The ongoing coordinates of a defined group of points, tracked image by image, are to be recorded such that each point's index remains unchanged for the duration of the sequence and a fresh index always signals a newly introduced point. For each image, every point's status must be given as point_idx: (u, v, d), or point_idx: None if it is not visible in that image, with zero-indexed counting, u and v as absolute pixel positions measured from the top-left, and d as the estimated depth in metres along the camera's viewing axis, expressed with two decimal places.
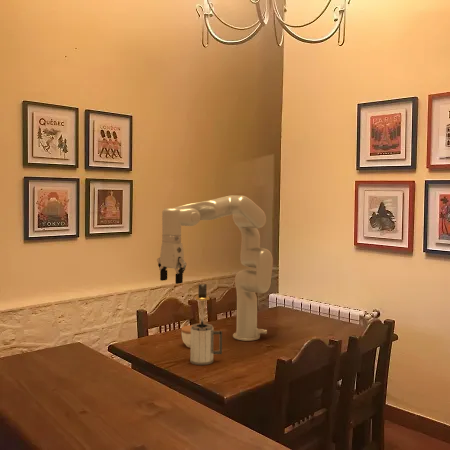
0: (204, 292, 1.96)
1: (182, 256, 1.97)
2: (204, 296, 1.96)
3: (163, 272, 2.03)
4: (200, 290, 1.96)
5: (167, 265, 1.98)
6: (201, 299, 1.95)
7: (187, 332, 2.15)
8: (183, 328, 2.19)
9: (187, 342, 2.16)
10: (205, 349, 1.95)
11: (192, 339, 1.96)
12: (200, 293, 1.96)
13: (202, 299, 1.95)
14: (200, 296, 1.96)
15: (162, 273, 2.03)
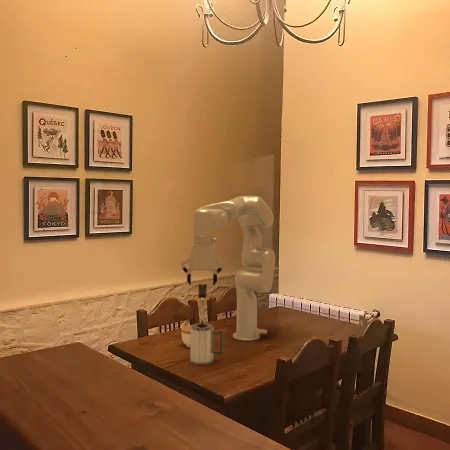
0: (204, 292, 1.96)
1: None
2: (204, 296, 1.96)
3: (190, 276, 1.96)
4: (200, 290, 1.96)
5: (202, 267, 1.95)
6: (201, 299, 1.95)
7: (187, 332, 2.15)
8: (183, 328, 2.19)
9: (187, 342, 2.16)
10: (205, 349, 1.95)
11: (192, 339, 1.96)
12: (200, 293, 1.96)
13: (202, 299, 1.95)
14: (200, 296, 1.96)
15: (190, 277, 1.95)
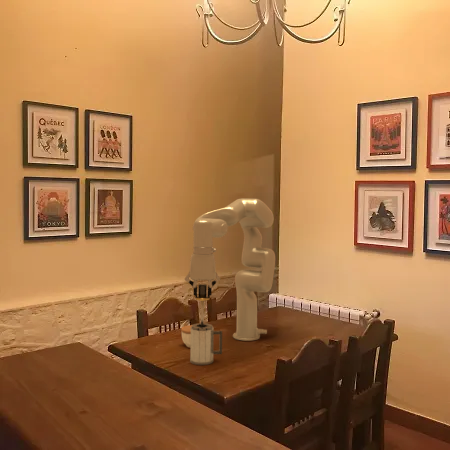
0: (204, 292, 1.96)
1: None
2: (204, 296, 1.96)
3: None
4: (200, 290, 1.96)
5: (203, 278, 1.95)
6: (201, 299, 1.95)
7: (187, 332, 2.15)
8: (183, 328, 2.19)
9: (187, 342, 2.16)
10: (205, 349, 1.95)
11: (192, 339, 1.96)
12: (200, 293, 1.96)
13: (202, 299, 1.95)
14: (200, 296, 1.96)
15: None
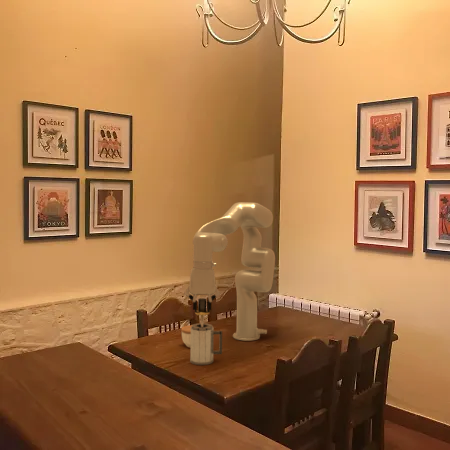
0: (204, 307, 1.97)
1: None
2: (204, 311, 1.97)
3: (196, 303, 1.97)
4: (200, 305, 1.96)
5: (202, 292, 1.95)
6: (201, 314, 1.95)
7: (187, 332, 2.15)
8: (183, 328, 2.19)
9: (187, 342, 2.16)
10: (205, 349, 1.95)
11: (192, 339, 1.96)
12: (200, 308, 1.97)
13: (202, 314, 1.95)
14: (200, 311, 1.97)
15: (196, 304, 1.96)
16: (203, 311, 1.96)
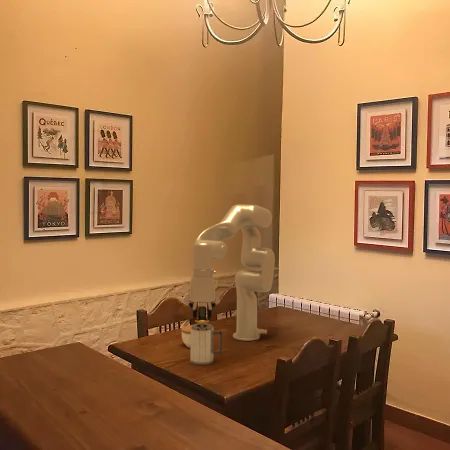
0: (204, 314, 1.97)
1: None
2: (204, 318, 1.97)
3: (196, 311, 1.97)
4: (200, 312, 1.97)
5: (202, 300, 1.96)
6: (201, 321, 1.95)
7: (187, 332, 2.15)
8: (183, 328, 2.19)
9: (187, 342, 2.16)
10: (205, 349, 1.95)
11: (192, 339, 1.96)
12: (200, 315, 1.97)
13: (202, 321, 1.95)
14: (200, 318, 1.97)
15: (196, 312, 1.97)
16: (203, 319, 1.97)
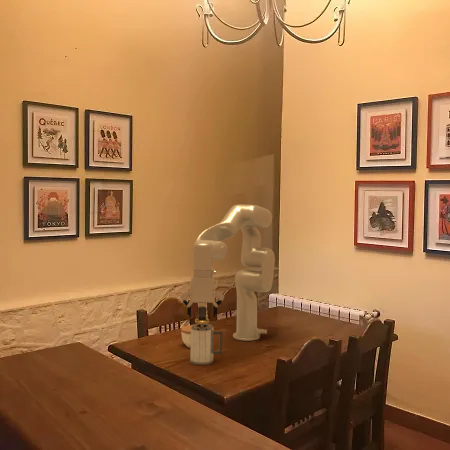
0: (204, 315, 1.97)
1: None
2: (204, 319, 1.97)
3: None
4: (200, 313, 1.97)
5: (202, 300, 1.96)
6: (201, 322, 1.95)
7: (187, 332, 2.15)
8: (183, 328, 2.19)
9: (187, 342, 2.16)
10: (205, 349, 1.95)
11: (192, 339, 1.96)
12: (200, 316, 1.97)
13: (202, 322, 1.95)
14: (200, 319, 1.97)
15: None
16: (203, 319, 1.97)
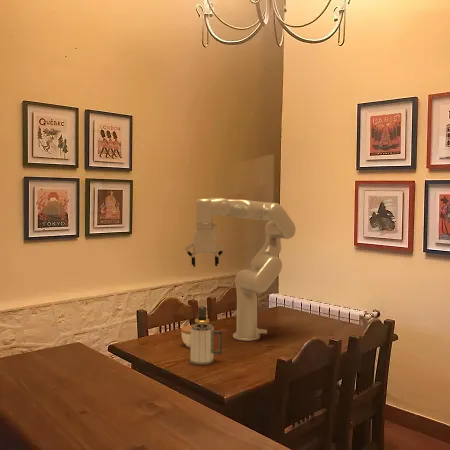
0: (204, 315, 1.97)
1: None
2: (204, 319, 1.97)
3: (194, 259, 2.17)
4: (200, 313, 1.97)
5: (205, 251, 2.16)
6: (201, 322, 1.95)
7: (187, 332, 2.15)
8: (183, 328, 2.19)
9: (187, 342, 2.16)
10: (205, 349, 1.95)
11: (192, 339, 1.96)
12: (200, 316, 1.97)
13: (202, 322, 1.95)
14: (200, 319, 1.97)
15: None
16: (203, 319, 1.97)
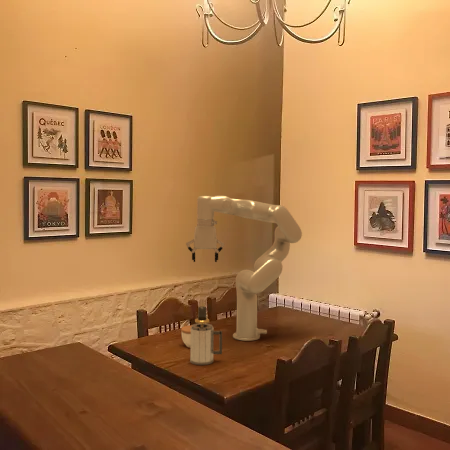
0: (204, 315, 1.97)
1: None
2: (204, 319, 1.97)
3: None
4: (200, 313, 1.97)
5: (205, 247, 2.22)
6: (201, 322, 1.95)
7: (187, 332, 2.15)
8: (183, 328, 2.19)
9: (187, 342, 2.16)
10: (205, 349, 1.95)
11: (192, 339, 1.96)
12: (200, 316, 1.97)
13: (202, 322, 1.95)
14: (200, 319, 1.97)
15: None
16: (203, 319, 1.97)
